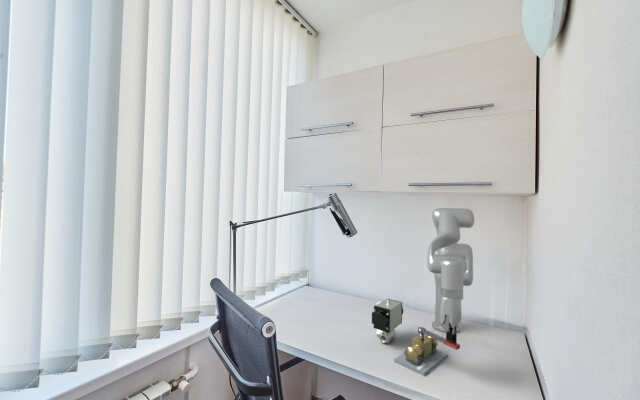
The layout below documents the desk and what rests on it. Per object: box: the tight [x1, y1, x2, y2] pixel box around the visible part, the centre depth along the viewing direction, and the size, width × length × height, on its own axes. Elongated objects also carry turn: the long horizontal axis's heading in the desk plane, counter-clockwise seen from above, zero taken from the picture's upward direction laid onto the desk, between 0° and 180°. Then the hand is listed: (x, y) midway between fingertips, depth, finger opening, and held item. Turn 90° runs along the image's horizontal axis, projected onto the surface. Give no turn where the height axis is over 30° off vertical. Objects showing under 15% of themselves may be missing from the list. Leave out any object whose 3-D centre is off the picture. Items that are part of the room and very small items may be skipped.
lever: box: [417, 326, 461, 351], centre depth 103 cm, size 16×3×1 cm, turn 32°
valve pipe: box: [403, 332, 438, 366], centre depth 108 cm, size 17×5×9 cm, turn 133°
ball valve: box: [371, 298, 404, 344], centre depth 123 cm, size 18×8×18 cm, turn 141°
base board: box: [393, 349, 448, 377], centre depth 108 cm, size 20×12×1 cm, turn 133°
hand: (451, 343), depth 101 cm, fingers closed
